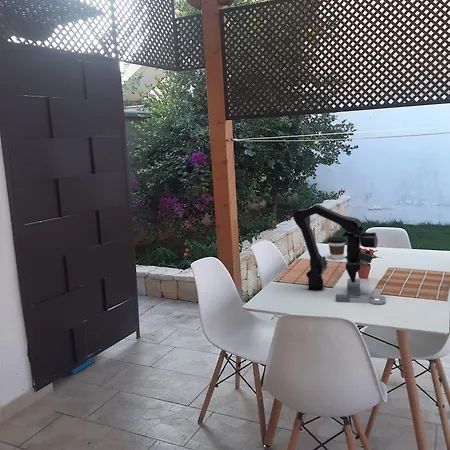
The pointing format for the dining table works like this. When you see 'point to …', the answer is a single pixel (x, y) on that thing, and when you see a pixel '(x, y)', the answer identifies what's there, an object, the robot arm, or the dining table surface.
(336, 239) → the coffee cup
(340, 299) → the gray handled tool
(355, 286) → the gray block
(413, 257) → the dining table surface
